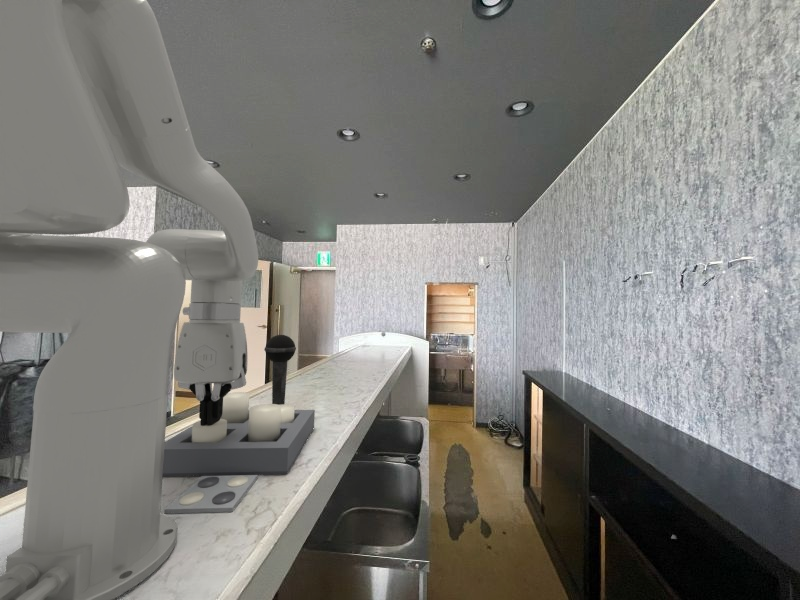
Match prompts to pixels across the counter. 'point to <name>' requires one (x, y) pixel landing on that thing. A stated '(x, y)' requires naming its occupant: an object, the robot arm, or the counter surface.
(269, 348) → the microphone
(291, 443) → the board
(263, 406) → the button near right
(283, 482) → the counter surface
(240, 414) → the button far left
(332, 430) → the counter surface
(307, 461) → the counter surface
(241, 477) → the tile
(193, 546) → the counter surface
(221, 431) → the button near left
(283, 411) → the button far right
